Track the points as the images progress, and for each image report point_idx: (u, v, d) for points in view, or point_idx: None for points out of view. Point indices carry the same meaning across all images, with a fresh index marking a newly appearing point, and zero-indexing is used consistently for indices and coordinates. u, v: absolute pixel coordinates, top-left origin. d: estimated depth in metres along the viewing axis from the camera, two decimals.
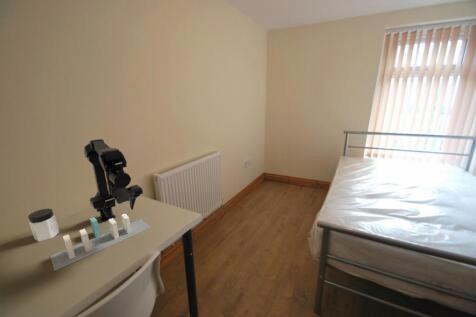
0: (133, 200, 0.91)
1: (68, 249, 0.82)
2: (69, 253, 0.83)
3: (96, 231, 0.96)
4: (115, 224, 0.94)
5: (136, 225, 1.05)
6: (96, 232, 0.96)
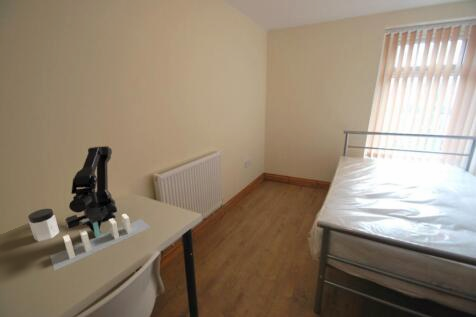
0: (99, 221, 0.97)
1: (68, 249, 0.82)
2: (69, 253, 0.83)
3: (96, 231, 0.96)
4: (115, 224, 0.94)
5: (136, 225, 1.05)
6: (96, 232, 0.96)
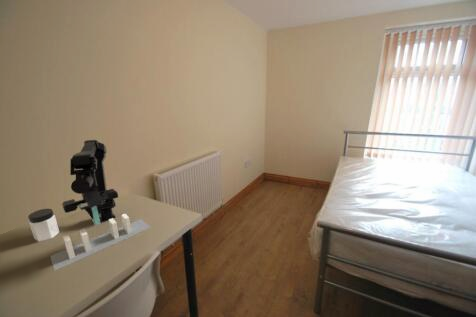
0: (99, 207, 0.89)
1: (68, 249, 0.82)
2: (69, 253, 0.83)
3: (95, 218, 0.88)
4: (115, 224, 0.94)
5: (136, 225, 1.05)
6: (95, 219, 0.88)
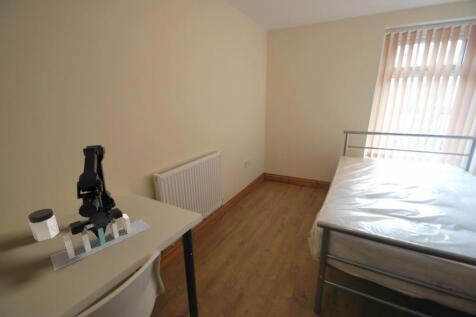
0: (104, 227, 0.91)
1: (68, 249, 0.82)
2: (69, 253, 0.83)
3: (101, 239, 0.91)
4: (115, 224, 0.94)
5: (136, 225, 1.05)
6: (101, 240, 0.91)
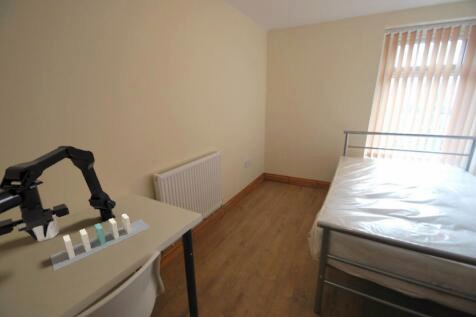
0: (45, 226, 0.76)
1: (68, 249, 0.82)
2: (69, 253, 0.83)
3: (101, 239, 0.91)
4: (115, 224, 0.94)
5: (136, 225, 1.05)
6: (101, 240, 0.91)
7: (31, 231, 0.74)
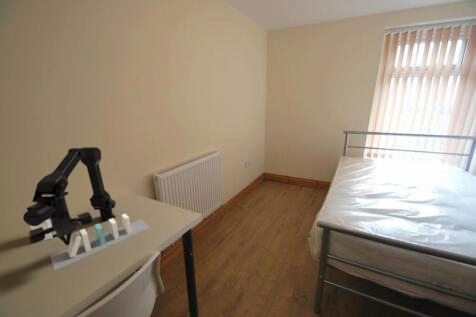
0: (68, 235, 0.82)
1: (74, 246, 0.84)
2: (73, 251, 0.84)
3: (101, 239, 0.91)
4: (115, 224, 0.94)
5: (136, 225, 1.05)
6: (101, 240, 0.91)
7: (63, 237, 0.81)
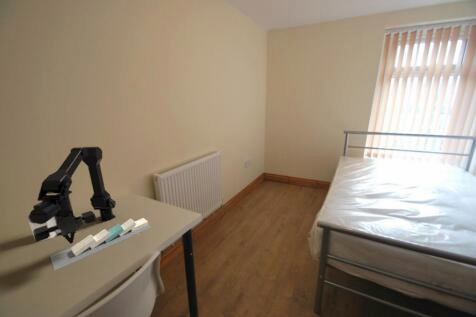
0: (72, 233, 0.83)
1: (85, 245, 0.87)
2: (80, 249, 0.85)
3: (112, 236, 0.94)
4: (134, 225, 1.00)
5: None
6: (111, 237, 0.93)
7: (67, 235, 0.82)
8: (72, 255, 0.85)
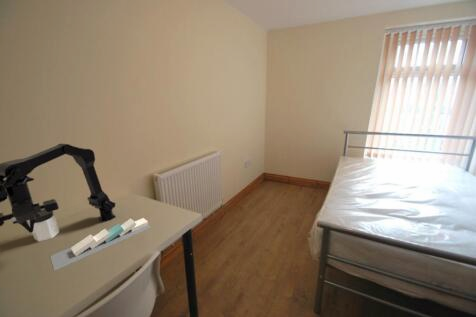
0: (31, 221, 0.79)
1: (85, 245, 0.87)
2: (80, 249, 0.85)
3: (112, 236, 0.94)
4: (134, 225, 1.00)
5: None
6: (111, 237, 0.93)
7: (25, 224, 0.78)
8: (72, 255, 0.85)
